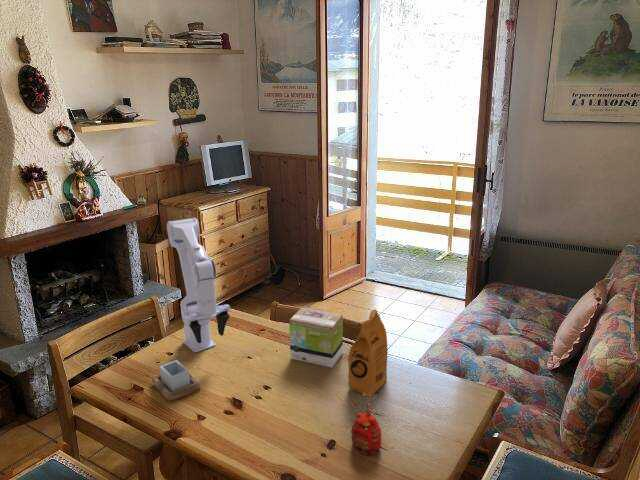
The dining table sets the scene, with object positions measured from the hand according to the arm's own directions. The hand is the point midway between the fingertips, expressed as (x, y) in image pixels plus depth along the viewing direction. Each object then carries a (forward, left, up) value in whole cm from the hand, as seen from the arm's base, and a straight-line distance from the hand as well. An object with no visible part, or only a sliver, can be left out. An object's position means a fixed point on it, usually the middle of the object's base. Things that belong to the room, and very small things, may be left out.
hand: (210, 338), depth 164 cm
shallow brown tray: (+4, -14, -10) cm, 18 cm away
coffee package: (+39, +31, -10) cm, 51 cm away
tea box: (+17, +29, -10) cm, 35 cm away
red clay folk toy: (+59, +12, -10) cm, 61 cm away
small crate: (+4, -14, -9) cm, 17 cm away
